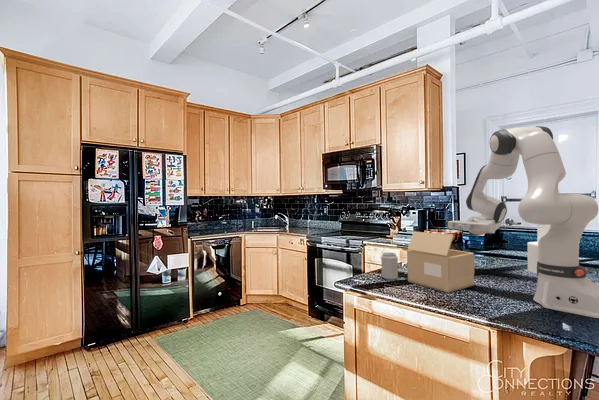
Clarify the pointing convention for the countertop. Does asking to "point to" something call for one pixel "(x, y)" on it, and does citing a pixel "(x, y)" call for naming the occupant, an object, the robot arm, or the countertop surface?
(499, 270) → the countertop surface
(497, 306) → the countertop surface
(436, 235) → the flap
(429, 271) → the carton
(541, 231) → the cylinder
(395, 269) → the can
